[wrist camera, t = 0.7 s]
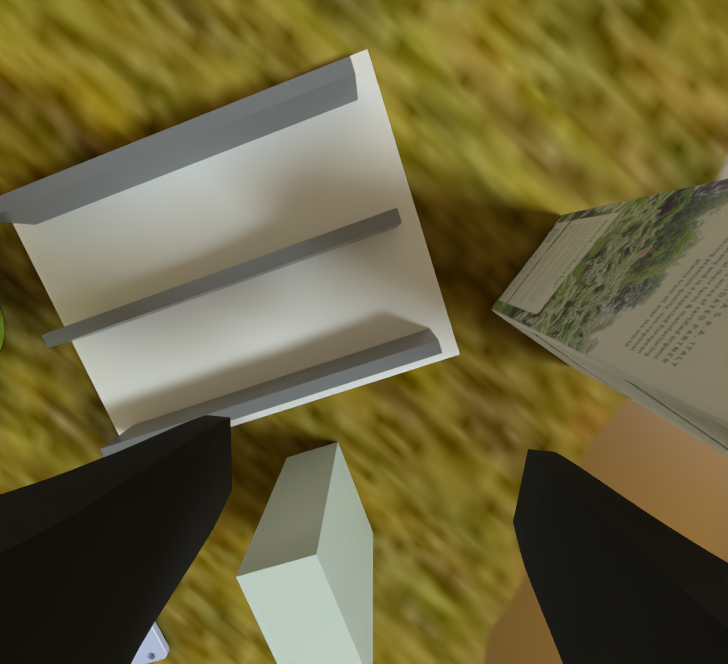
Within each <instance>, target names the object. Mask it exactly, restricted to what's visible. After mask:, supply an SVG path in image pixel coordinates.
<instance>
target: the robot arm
mask: <svg viewBox="0 0 728 664" xmlns="http://www.w3.org/2000/svg"><path fill="white" fill-rule="evenodd" d="M231 490H232V474H231V421H230V417H222V416H213V415H205V416H201V417H198V418H195V419H193V420H190V421H188V422H185V423H183V424H181V425H178V426H176V427H174V428H171V429H169V430H167V431H164V432H162V433H160V434H158V435H155V436H153V437H151V438H148V439H146V440H144V441H142V442H139V443H137V444H135V445H132V446H130V447H128V448H125V449H123V450H121V451H118V452H116V453H113V454H111V455H108V456H106V457H103V458H101V459H98V460H96V461H93V462H91V463H88V464H86V465H83V466H81V467H78V468H76V469H73V470H71V471H68V472H65V473H63V474H60V475H57V476H54V477H52V478H49V479H46V480H43V481H40V482H37V483H34V484H31V485H28V486H25V487H22V488H19V489H16V490H13V491H10V492H7V493H4V494H0V664H147V663H151V662H154V661H158V660H162V659H164V658H165V657H166V656H167V654H168V652H169V646H168V644H167V642H166V640H165V639H164V637H163V635H162V633H161V631H160V629H159V627H158V626H157V624H156V622H155V621H156V619H157V618H158V616H159V614H160V613H161V611H162V610H163V608H164V606H165V605H166V603H167V602H168V600H169V599H170V597H171V595H172V594H173V592H174V591H175V589H176V587H177V586H178V584H179V583H180V581H181V580H182V578H183V576H184V575H185V573H186V572H187V570H188V569H189V567H190V565H191V564H192V562H193V561H194V559H195V557H196V556H197V554H198V553H199V551H200V549H201V548H202V546H203V545H204V543H205V541H206V540H207V538H208V536H209V535H210V533H211V531H212V530H213V528H214V526H215V524H216V522H217V520H218V518H219V516H220V514H221V512H222V510H223V507H224V505H225V503H226V501H227V499H228V496H229V494H230V492H231ZM513 524H514V528H515V532H516V536H517V540H518V544H519V548H520V552H521V555H522V559H523V562H524V566H525V569H526V571H527V574H528V577H529V579H530V582H531V584H532V587H533V589H534V592H535V594H536V597H537V600H538V602H539V604H540V607H541V610H542V612H543V615H544V617H545V620H546V622H547V625H548V627H549V629H550V632H551V635H552V637H553V640H554V642H555V644H556V647H557V649H558V652H559V654H560V657H561V659H562V662H563V664H728V563H727V562H725V561H724V560H722V559H720V558H719V557H717V556H715V555H713V554H712V553H710V552H708V551H707V550H705V549H704V548H702V547H700V546H699V545H697V544H695V543H694V542H692V541H691V540H689V539H687V538H686V537H684V536H683V535H681V534H679V533H678V532H676V531H675V530H673V529H672V528H670V527H668V526H667V525H665V524H664V523H662V522H661V521H659V520H658V519H656V518H654V517H653V516H651V515H650V514H648V513H647V512H645V511H644V510H642V509H641V508H639V507H638V506H636V505H635V504H633V503H632V502H630V501H629V500H627V499H626V498H624V497H623V496H621V495H620V494H618V493H617V492H615V491H614V490H613V489H611V488H610V487H608V486H607V485H605V484H604V483H602V482H601V481H600V480H598V479H597V478H595V477H593V476H592V475H591V474H589V473H588V472H586V471H585V470H583V469H582V468H580V467H579V466H577V465H576V464H574V463H573V462H571V461H570V460H568V459H566V458H565V457H563V456H561V455H559V454H558V453H556V452H550V451H541V450H531V449H528V453H527V458H526V462H525V467H524V472H523V477H522V482H521V486H520V491H519V496H518V501H517V506H516V511H515V515H514V520H513Z"/></svg>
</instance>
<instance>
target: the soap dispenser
mask: <svg viewBox="0 0 728 664" xmlns="http://www.w3.org/2000/svg"><path fill="white" fill-rule="evenodd" d="M3 340H4V320H3V316H2V312H1V310H0V350H1V347H2V344H3Z"/></svg>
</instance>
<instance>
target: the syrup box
mask: <svg viewBox="0 0 728 664" xmlns="http://www.w3.org/2000/svg"><path fill="white" fill-rule="evenodd" d="M492 311H493V312H495V313H496V314H497V315H499V316H500V317H502V318H503V319H504V320H506V321H507V322H509V323H510V324H511V325H513V326H514V327H516V328H517V329H519V330H520V331H521V332H523V333H524V334H526V335H527V336H528V337H530V338H531V339H533V340H534V341H536V342H537V343H538V344H540V345H541V346H543V347H544V348H546V349H547V350H548V351H550V352H551V353H553V354H554V355H555V356H557V357H558V358H560V359H561V360H562V361H564V362H565V363H567V364H568V365H570V366H571V367H573V368H574V369H576V370H578V371H580V372H581V373H583V374H585V375H587V376H589V377H591V378H592V379H594V380H596V381H598V382H600V383H602V384H604V385H606V386H608V387H610V388H612V389H613V390H615V391H617V392H619V393H620V394H622V395H624V396H626V397H628V398H629V399H631V400H633V401H635V402H637V403H638V404H640V405H642V406H643V407H645V408H647V409H649V410H650V411H652V412H654V413H655V414H657V415H659V416H660V417H662V418H664V419H665V420H667V421H669V422H670V423H672V424H674V425H676V426H677V427H679V428H681V429H682V430H684V431H686V432H688V433H689V434H691V435H692V436H694V437H696V438H698V439H699V440H701V441H703V442H704V443H706V444H708V445H710V446H711V447H713V448H714V449H716V450H718V451H719V452H721V453H723V454H725V455H727V456H728V179H724V180H720V181H716V182H711V183H707V184H702V185H698V186H693V187H689V188H684V189H678V190H674V191H669V192H664V193H659V194H655V195H650V196H646V197H642V198H638V199H632V200H628V201H624V202H619V203H614V204H610V205H605V206H600V207H596V208H591V209H588V210H584V211H577V212H573V213H569V214H564V215H562V216H561V217H560V218H559V219H558V221H557V222H556V223H555V225H554V226H553V227H552V229H551V230H550V231H549V232H548V234H547V235H546V237H545V238H544V239H543V241H542V242H541V243H540V245H539V246H538V247H537V248H536V250H535V251H534V253H533V254H532V255H531V256H530V258H529V259H528V260H527V262H526V263H525V264H524V266H523V267H522V268H521V270H520V271H519V272H518V273H517V275H516V276H515V278H514V279H513V280H512V281H511V283H510V284H509V285H508V287H507V288H506V289H505V290H504V292H503V293H502V294H501V295H500V297H499V298H498V299H497V301H496V302H495V304H494V305H493V306H492Z"/></svg>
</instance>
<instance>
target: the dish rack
mask: <svg viewBox="0 0 728 664" xmlns="http://www.w3.org/2000/svg"><path fill="white" fill-rule="evenodd" d="M0 222H6V223H13V225H14V227H15V229H16V231H17V233H18V235H19V237H20V239H21V241H22V243H23V245H24V247H25V249H26V251H27V253H28V255H29V257H30V259H31V261H32V263H33V265H34V267H35V269H36V271H37V273H38V275H39V277H40V279H41V281H42V283H43V285H44V287H45V289H46V291H47V293H48V295H49V297H50V299H51V301H52V303H53V305H54V307H55V309H56V311H57V313H58V315H59V317H60V319H61V321H62V323H63V325H64V327H62V328H59V329H57V330H54V331H51V332H48V333H45V334H43V335H41V336H42V338H43V340H44V342H45V344H46V346H47V347H48V348H49V347H53V346H56V345H59V344H63V343H66V342H70V341H72V343H73V345H74V347H75V349H76V351H77V353H78V355H79V357H80V359H81V361H82V363H83V365H84V367H85V369H86V371H87V373H88V375H89V377H90V379H91V381H92V383H93V385H94V387H95V389H96V391H97V393H98V395H99V397H100V399H101V401H102V403H103V405H104V407H105V409H106V411H107V413H108V415H109V417H110V419H111V421H112V422H113V424H114V426H115V428H116V430H117V432H118V434H119V436H117V437H116V438H115V439H113V440H112V441H110V442H109V443H108V444H106V445H105V446H103V447H102V448H101V449H100V450H101V452H102V454H103V456H104V457H106V456H108V455H111V454H113V453H116V452H118V451H121V450H123V449H125V448H128V447H130V446H132V445H135V444H137V443H139V442H142V441H144V440H146V439H148V438H151V437H153V436H155V435H158V434H160V433H162V432H164V431H167V430H169V429H171V428H174V427H176V426H178V425H181V424H183V423H185V422H188V421H190V420H193V419H195V418H198V417H201V416H205V415H213V416H222V417H230V421H231V427H232V426H236V425H239V424H242V423H245V422H248V421H251V420H254V419H258V418H261V417H264V416H267V415H270V414H273V413H276V412H280V411H283V410H286V409H289V408H292V407H295V406H299V405H302V404H305V403H308V402H311V401H314V400H317V399H321V398H324V397H327V396H330V395H333V394H336V393H339V392H343V391H346V390H349V389H352V388H355V387H358V386H362V385H365V384H368V383H371V382H374V381H377V380H380V379H384V378H387V377H390V376H393V375H396V374H399V373H403V372H406V371H409V370H412V369H415V368H418V367H421V366H425V365H428V364H431V363H434V362H437V361H440V360H443V359H447V358H450V357H453V356H456V355H459V350H458V347H457V344H456V340H455V337H454V334H453V331H452V327H451V324H450V321H449V317H448V314H447V311H446V307H445V304H444V301H443V298H442V294H441V291H440V288H439V284H438V281H437V278H436V274H435V271H434V268H433V265H432V261H431V258H430V255H429V251H428V248H427V245H426V241H425V238H424V235H423V232H422V228H421V225H420V222H419V218H418V215H417V212H416V208H415V205H414V202H413V199H412V195H411V192H410V189H409V185H408V182H407V179H406V175H405V172H404V169H403V166H402V162H401V159H400V156H399V152H398V149H397V146H396V142H395V139H394V136H393V133H392V129H391V126H390V123H389V119H388V116H387V113H386V109H385V106H384V103H383V100H382V96H381V93H380V90H379V86H378V83H377V80H376V76H375V73H374V70H373V67H372V63H371V60H370V57H369V53H368V50H367V49H366V50H364V51H361V52H359V53H356V54H354V55H351V56H348V57H346V58H343V59H341V60H338V61H336V62H333V63H331V64H328V65H326V66H323V67H321V68H318V69H316V70H313V71H311V72H308V73H306V74H303V75H301V76H298V77H296V78H293V79H291V80H288V81H286V82H283V83H281V84H278V85H276V86H273V87H271V88H268V89H266V90H263V91H261V92H258V93H256V94H253V95H251V96H248V97H246V98H243V99H241V100H238V101H236V102H233V103H231V104H228V105H226V106H223V107H221V108H218V109H216V110H213V111H211V112H208V113H206V114H203V115H201V116H198V117H196V118H193V119H191V120H188V121H186V122H183V123H181V124H178V125H176V126H173V127H171V128H168V129H166V130H163V131H161V132H158V133H156V134H153V135H151V136H148V137H146V138H143V139H141V140H138V141H136V142H133V143H130V144H128V145H125V146H123V147H120V148H118V149H115V150H113V151H110V152H108V153H105V154H103V155H100V156H98V157H95V158H93V159H90V160H88V161H85V162H83V163H80V164H78V165H75V166H73V167H70V168H68V169H65V170H63V171H60V172H58V173H55V174H53V175H50V176H48V177H45V178H43V179H40V180H38V181H35V182H33V183H30V184H28V185H25V186H23V187H20V188H18V189H15V190H13V191H10V192H8V193H5V194H3V195H0Z"/></svg>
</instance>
